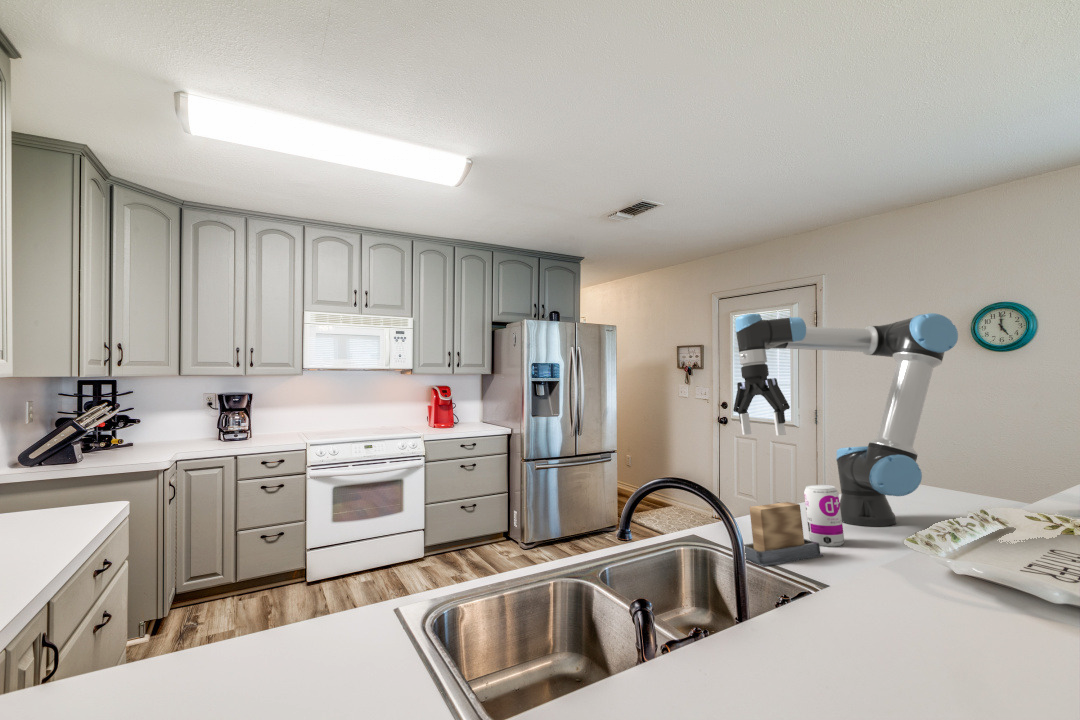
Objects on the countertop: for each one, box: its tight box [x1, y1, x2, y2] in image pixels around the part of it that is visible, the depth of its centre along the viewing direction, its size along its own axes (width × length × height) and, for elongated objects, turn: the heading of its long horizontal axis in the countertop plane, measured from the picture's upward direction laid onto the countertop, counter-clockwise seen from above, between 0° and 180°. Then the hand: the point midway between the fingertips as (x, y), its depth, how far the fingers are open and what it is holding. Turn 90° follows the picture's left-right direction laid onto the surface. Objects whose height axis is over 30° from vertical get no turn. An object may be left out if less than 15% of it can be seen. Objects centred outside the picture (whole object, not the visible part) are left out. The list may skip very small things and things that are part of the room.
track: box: [743, 538, 825, 568], centre depth 120 cm, size 18×9×3 cm, turn 105°
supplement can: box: [803, 484, 845, 548], centre depth 129 cm, size 8×8×15 cm
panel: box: [749, 501, 805, 551], centre depth 120 cm, size 12×4×12 cm, turn 105°
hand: (763, 434), depth 142 cm, fingers open, 13 cm apart
